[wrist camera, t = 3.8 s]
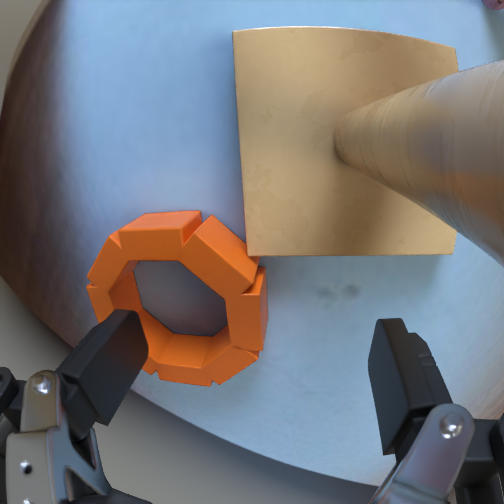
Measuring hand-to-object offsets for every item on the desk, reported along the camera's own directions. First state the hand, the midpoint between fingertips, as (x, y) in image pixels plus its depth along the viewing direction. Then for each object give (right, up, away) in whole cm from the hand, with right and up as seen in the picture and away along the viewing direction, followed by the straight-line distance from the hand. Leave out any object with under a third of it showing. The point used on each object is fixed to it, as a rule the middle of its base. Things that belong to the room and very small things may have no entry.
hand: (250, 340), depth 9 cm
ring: (-3, +1, +3) cm, 5 cm away
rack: (+4, +7, 0) cm, 8 cm away
